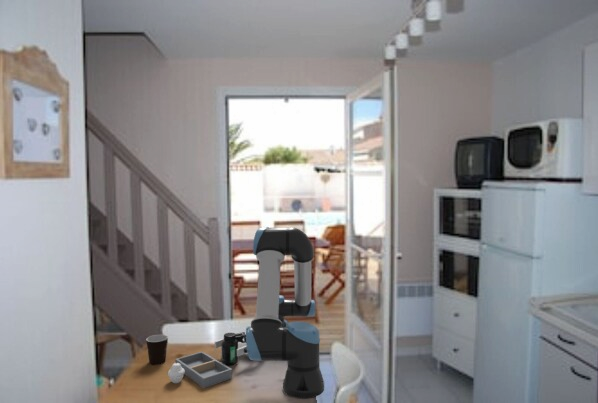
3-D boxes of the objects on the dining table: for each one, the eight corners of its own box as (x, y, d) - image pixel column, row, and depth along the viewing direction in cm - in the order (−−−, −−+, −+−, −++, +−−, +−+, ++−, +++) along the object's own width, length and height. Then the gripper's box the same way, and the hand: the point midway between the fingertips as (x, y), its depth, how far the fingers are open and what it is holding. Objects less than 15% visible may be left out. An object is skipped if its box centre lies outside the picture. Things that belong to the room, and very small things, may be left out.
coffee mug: (161, 366, 172) (161, 342, 172) (142, 365, 174) (142, 341, 174) (175, 355, 184) (175, 333, 183) (157, 354, 185) (157, 331, 185)
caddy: (232, 378, 162) (232, 369, 162) (203, 388, 154) (203, 378, 154) (202, 359, 180) (202, 351, 180) (175, 367, 172) (175, 359, 172)
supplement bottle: (236, 366, 173) (236, 337, 172) (220, 366, 173) (219, 337, 172) (239, 359, 180) (239, 331, 179) (223, 359, 180) (223, 331, 179)
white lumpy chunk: (167, 379, 161) (167, 361, 161) (184, 376, 164) (183, 358, 163) (168, 386, 156) (168, 367, 155) (185, 383, 158) (185, 365, 158)
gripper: (282, 349, 183) (247, 365, 167) (242, 336, 199) (206, 350, 183) (282, 332, 183) (247, 347, 167) (242, 321, 199) (206, 333, 182)
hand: (225, 348), depth 175 cm, fingers open, 13 cm apart
